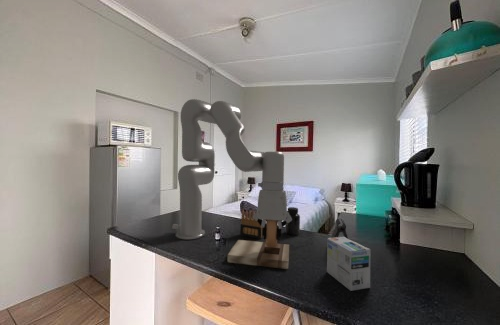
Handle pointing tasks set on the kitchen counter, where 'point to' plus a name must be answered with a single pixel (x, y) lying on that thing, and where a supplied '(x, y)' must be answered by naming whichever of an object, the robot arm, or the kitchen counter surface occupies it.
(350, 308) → the kitchen counter surface
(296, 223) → the supplement bottle
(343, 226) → the phone stand
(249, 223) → the ammunition clip
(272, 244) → the peg
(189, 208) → the robot arm
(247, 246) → the plywood deck
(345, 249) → the light bulb box
